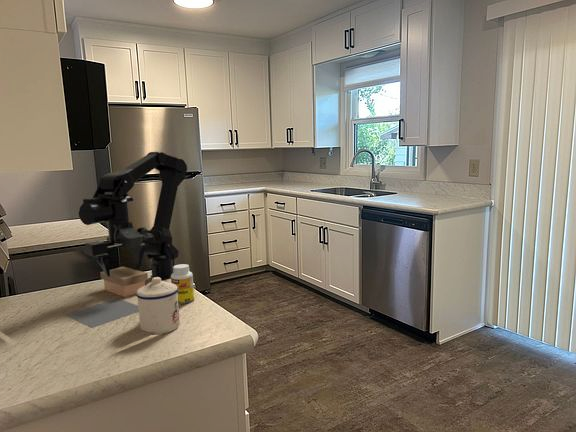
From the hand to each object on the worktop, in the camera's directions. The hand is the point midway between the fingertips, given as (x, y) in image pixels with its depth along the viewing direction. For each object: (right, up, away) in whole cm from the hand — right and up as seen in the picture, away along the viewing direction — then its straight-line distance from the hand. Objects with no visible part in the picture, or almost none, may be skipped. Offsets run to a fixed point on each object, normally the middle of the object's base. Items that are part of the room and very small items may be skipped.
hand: (123, 272), depth 121 cm
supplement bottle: (+20, -7, -10) cm, 23 cm away
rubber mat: (+2, -8, -16) cm, 18 cm away
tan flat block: (0, -2, 0) cm, 2 cm away
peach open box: (0, -6, +1) cm, 6 cm away
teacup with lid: (+18, -9, -23) cm, 31 cm away
